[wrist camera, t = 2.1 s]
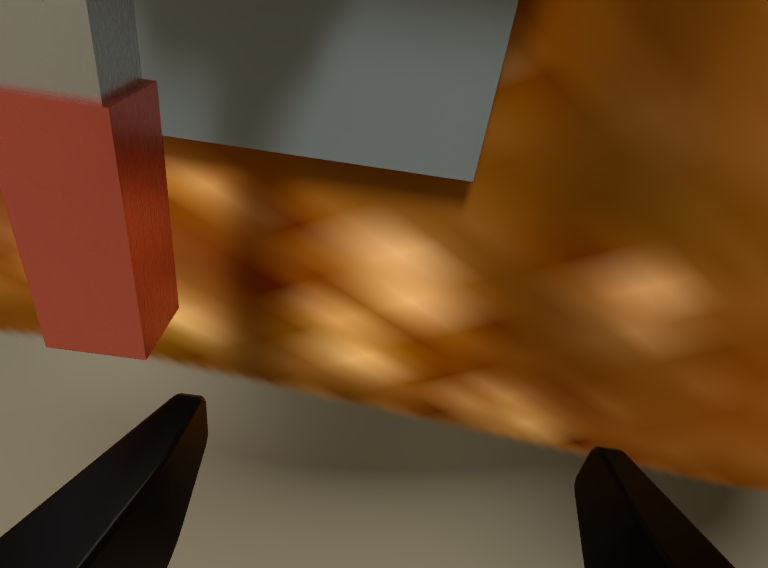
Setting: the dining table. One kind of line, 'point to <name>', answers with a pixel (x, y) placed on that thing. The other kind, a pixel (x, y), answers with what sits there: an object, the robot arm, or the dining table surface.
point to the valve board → (330, 77)
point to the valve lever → (86, 175)
